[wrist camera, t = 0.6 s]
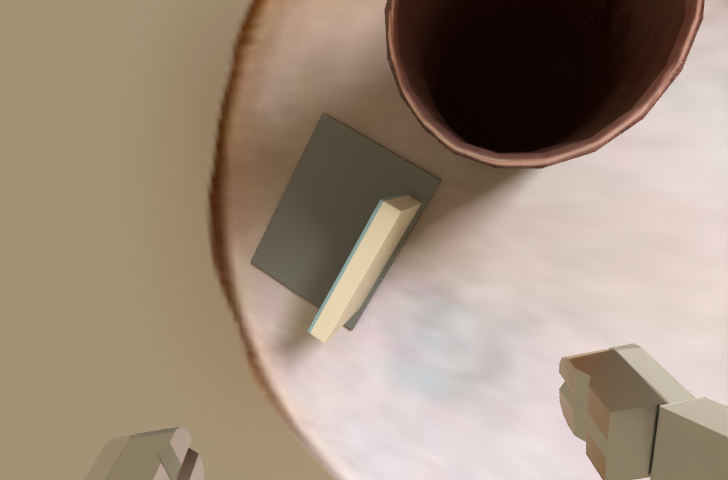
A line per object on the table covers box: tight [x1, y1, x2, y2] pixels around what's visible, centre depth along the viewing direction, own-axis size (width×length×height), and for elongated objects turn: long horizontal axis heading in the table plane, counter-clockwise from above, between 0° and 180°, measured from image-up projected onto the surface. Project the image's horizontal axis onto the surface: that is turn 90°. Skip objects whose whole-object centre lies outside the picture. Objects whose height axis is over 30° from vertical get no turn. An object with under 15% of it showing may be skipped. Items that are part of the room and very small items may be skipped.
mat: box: [251, 113, 441, 330], centre depth 48 cm, size 20×15×1 cm
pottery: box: [385, 0, 704, 168], centre depth 33 cm, size 18×18×18 cm
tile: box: [307, 194, 422, 343], centre depth 42 cm, size 14×2×11 cm, turn 151°
